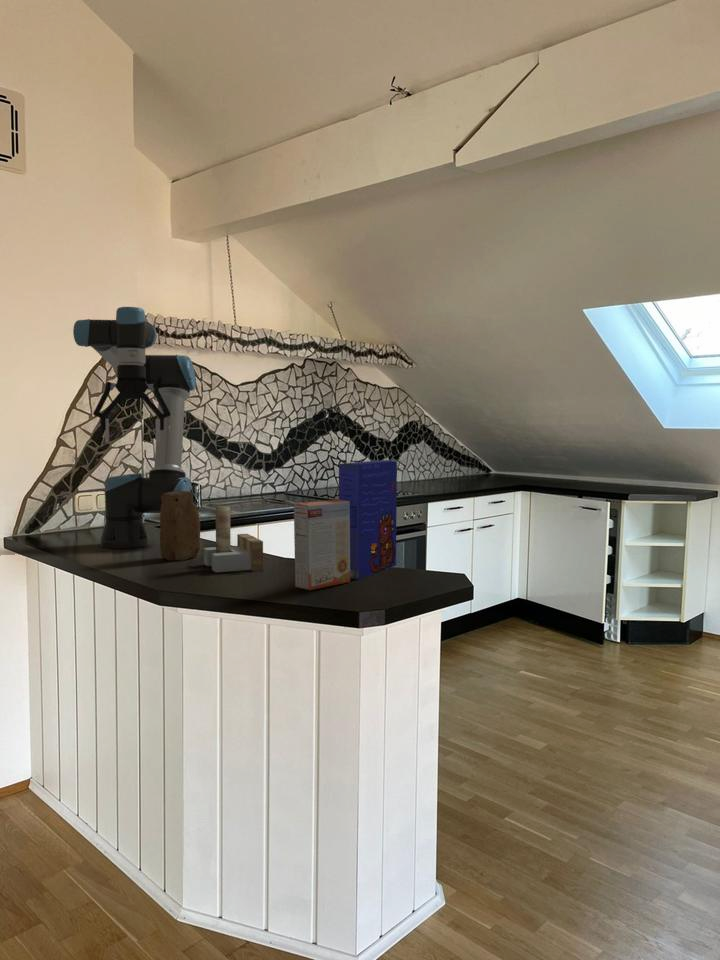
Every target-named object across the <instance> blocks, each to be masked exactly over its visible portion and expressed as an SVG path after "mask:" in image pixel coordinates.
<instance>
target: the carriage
mask: <svg viewBox="0 0 720 960" xmlns="http://www.w3.org/2000/svg"><path fill="white" fill-rule="evenodd" d="M203 564H204V566H206V567H211V570H212V571H213V572H215V573H224V572H239V571H249V570H250V571H252V553H250V552H249V551H247V550H245V549H243V548H241V547H240V546H237V545H231V552H225V553H216V546H214V547H204V548H203Z"/></svg>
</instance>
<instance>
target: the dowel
mask: <svg viewBox="0 0 720 960" xmlns="http://www.w3.org/2000/svg"><path fill="white" fill-rule="evenodd" d="M231 538H232V537H231V506H228V505H225V506H224V505H221V506H219V505H218V506H215V547H216V553H225V552H231V546H232V545H231V542H232V541H231Z"/></svg>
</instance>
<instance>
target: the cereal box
mask: <svg viewBox="0 0 720 960" xmlns="http://www.w3.org/2000/svg"><path fill="white" fill-rule="evenodd" d="M397 474H398V460H391V459H386V460H385V459H384V460H382V459H381V460H380V459H379V460H370V461H369V460H368V461H367V460H366V461H357V462H347V463H339V464H338V500H343V501H349V502H350V580H362V579H364V578H366V577H369V576H371V575H375V574H376V573H380V572H383V571H385V570H384V569H385V568H381V567H386V568H388V569H390V568H393V567H395V566H397V508H398V507H397V504H398V503H397V502H398V501H397V498H398V497H397V495H398V494H397V493H398V492H397V491H398V490H397V489H398V487H397V486H398V485H397V481H398V477H397V476H398V475H397ZM379 571H380V572H379Z"/></svg>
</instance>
